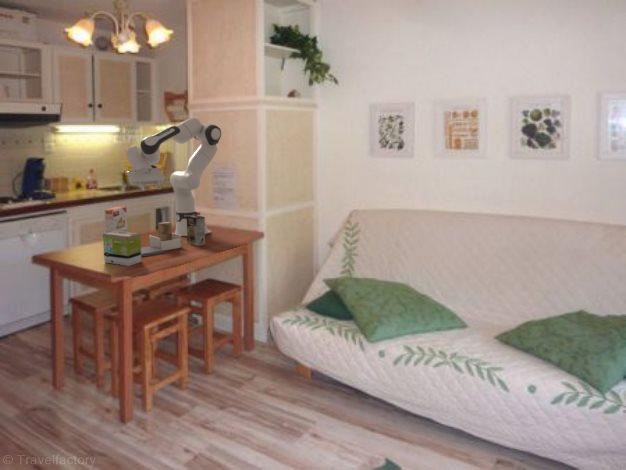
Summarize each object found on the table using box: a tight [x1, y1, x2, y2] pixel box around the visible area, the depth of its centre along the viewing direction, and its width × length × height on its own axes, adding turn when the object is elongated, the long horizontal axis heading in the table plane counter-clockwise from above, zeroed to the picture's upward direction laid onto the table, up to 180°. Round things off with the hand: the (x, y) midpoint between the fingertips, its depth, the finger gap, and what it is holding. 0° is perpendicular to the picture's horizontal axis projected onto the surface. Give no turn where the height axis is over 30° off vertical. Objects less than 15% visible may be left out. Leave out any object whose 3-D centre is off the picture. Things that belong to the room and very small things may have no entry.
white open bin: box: [148, 232, 182, 252], centre depth 306 cm, size 13×11×7 cm
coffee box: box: [186, 215, 206, 247], centre depth 315 cm, size 9×6×16 cm
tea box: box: [102, 231, 142, 267], centre depth 271 cm, size 15×10×15 cm
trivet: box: [141, 245, 164, 258], centre depth 293 cm, size 14×14×2 cm
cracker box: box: [104, 206, 128, 234], centre depth 311 cm, size 14×6×21 cm, turn 168°
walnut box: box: [157, 221, 173, 241], centre depth 305 cm, size 6×4×14 cm, turn 135°
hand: (151, 189), depth 309 cm, fingers open, 8 cm apart
